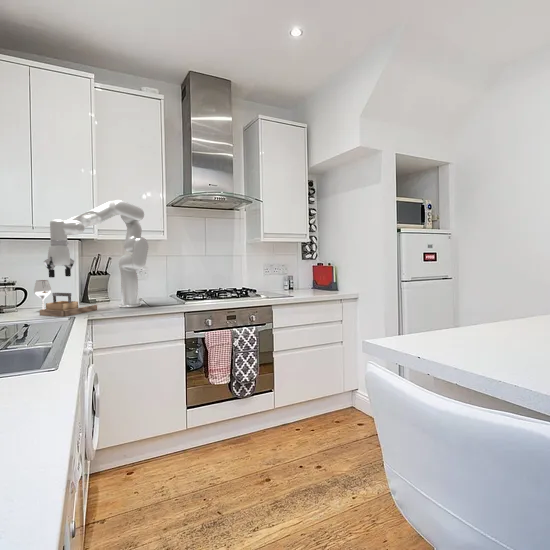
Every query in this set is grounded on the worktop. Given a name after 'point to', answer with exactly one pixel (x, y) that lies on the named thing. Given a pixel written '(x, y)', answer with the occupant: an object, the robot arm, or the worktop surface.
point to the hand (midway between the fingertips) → (60, 276)
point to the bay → (67, 311)
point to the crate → (61, 303)
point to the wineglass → (42, 289)
